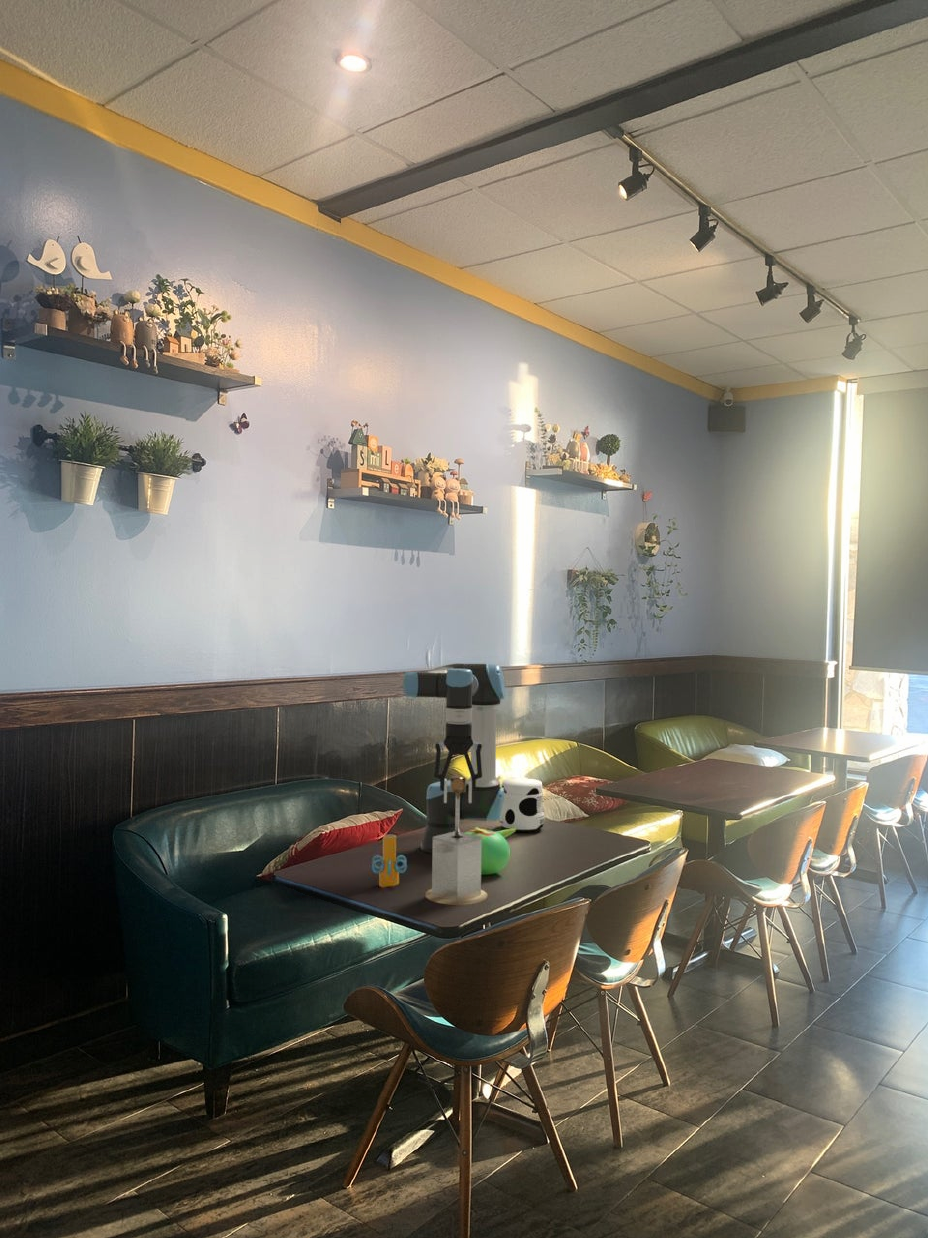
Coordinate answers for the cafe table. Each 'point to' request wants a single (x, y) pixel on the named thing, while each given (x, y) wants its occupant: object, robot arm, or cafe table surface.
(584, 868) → the cafe table surface
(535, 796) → the milk container
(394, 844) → the cylinder
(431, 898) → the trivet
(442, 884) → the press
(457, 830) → the plunger
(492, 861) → the toy bird
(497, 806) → the robot arm
